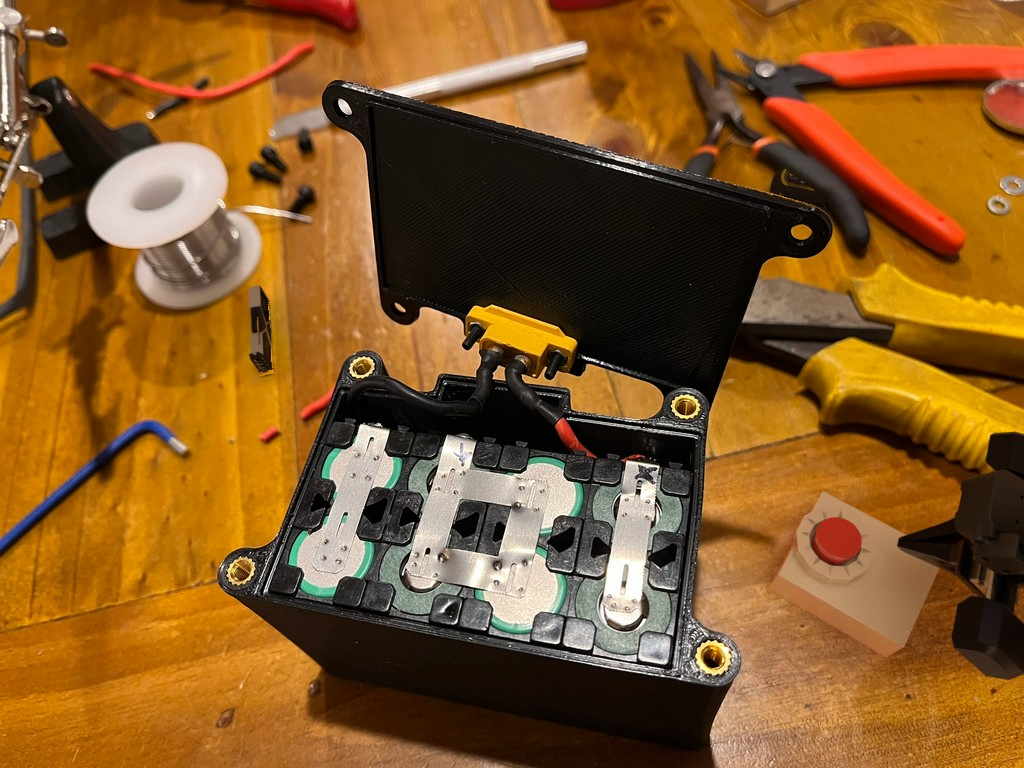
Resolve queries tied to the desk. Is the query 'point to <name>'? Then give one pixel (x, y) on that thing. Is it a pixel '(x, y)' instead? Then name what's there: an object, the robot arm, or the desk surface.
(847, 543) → the red button
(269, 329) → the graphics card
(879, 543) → the switch block
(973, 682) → the desk surface
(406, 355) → the desk surface
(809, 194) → the tape measure
